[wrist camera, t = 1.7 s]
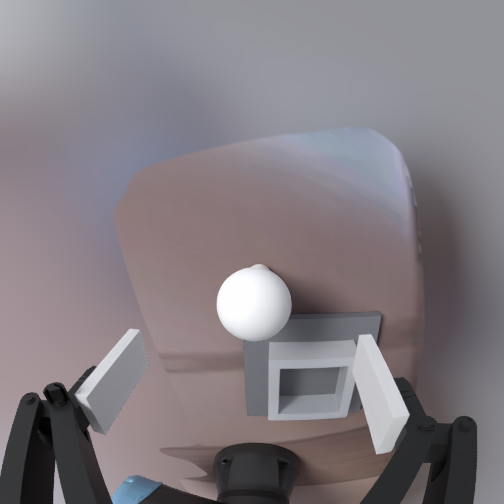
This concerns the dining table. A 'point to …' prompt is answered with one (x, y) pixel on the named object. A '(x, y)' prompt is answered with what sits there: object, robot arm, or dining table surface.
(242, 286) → the lightbulb
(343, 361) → the lamp socket
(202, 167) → the dining table surface
